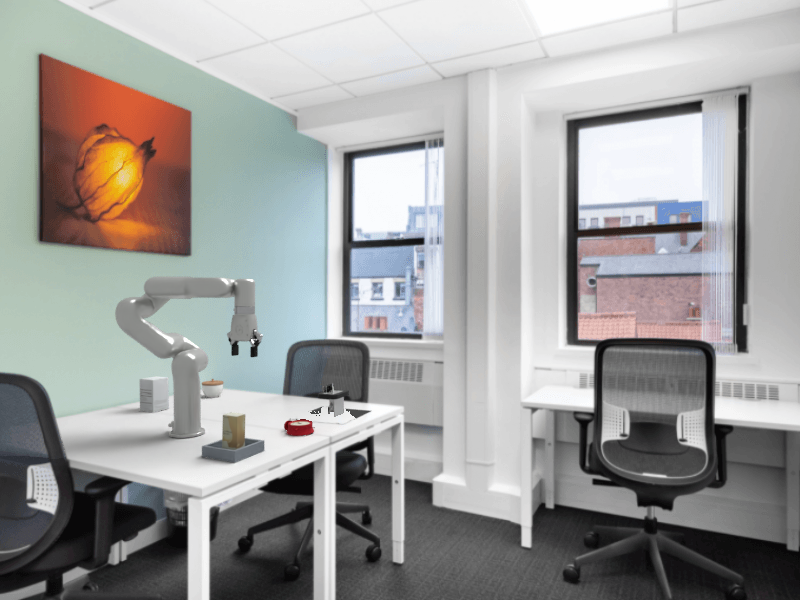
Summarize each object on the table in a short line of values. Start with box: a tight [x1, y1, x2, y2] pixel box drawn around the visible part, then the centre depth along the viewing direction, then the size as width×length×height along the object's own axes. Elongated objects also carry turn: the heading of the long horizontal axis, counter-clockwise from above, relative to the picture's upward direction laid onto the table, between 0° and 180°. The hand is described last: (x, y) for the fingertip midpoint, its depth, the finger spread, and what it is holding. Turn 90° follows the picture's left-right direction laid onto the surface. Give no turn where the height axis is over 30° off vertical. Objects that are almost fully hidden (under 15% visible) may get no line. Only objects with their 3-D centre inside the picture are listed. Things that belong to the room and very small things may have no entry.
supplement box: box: [139, 375, 170, 413], centre depth 243 cm, size 9×9×15 cm
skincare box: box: [221, 411, 246, 450], centre depth 175 cm, size 6×4×12 cm
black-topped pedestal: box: [310, 382, 372, 419], centre depth 232 cm, size 28×26×13 cm
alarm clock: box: [283, 419, 316, 437], centre depth 203 cm, size 10×6×15 cm
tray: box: [201, 437, 265, 463], centre depth 175 cm, size 14×14×4 cm
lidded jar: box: [201, 378, 224, 399], centre depth 276 cm, size 11×11×9 cm
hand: (244, 356), depth 200 cm, fingers open, 9 cm apart
